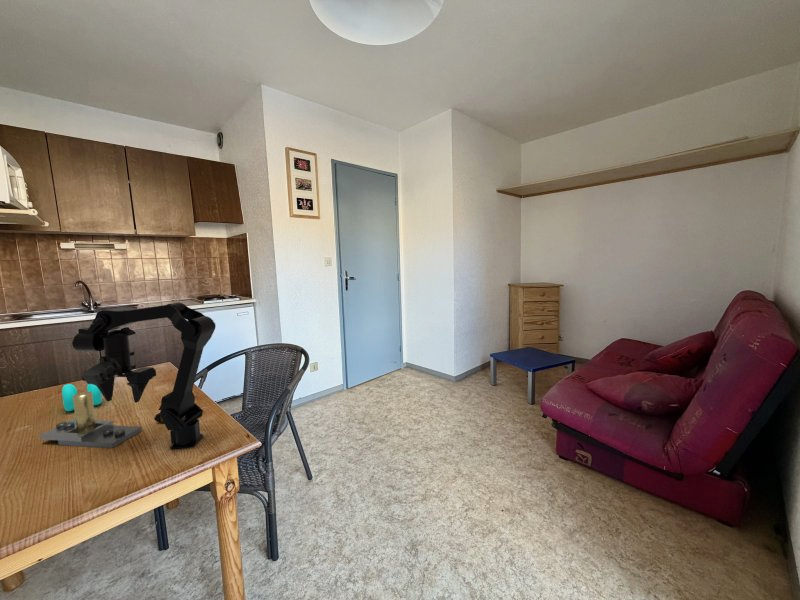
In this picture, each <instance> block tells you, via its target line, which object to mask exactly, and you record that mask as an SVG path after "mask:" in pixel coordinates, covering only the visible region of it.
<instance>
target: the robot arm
mask: <svg viewBox="0 0 800 600" xmlns="http://www.w3.org/2000/svg"><path fill="white" fill-rule="evenodd" d="M159 319H168V320H170V322H171V324H172V326H173V327H174V328H175V329H177V331H179V332H180V340H181V342H182V345H183V350H182V353H181V357H180V361H179V366H178V369H177V372H176V377H175V381H174V385H173V389H172V391H171V392H169V393H168V394H165V395H163V396H162V397H161V401H160V406H159V408H158V411H159V413H160V417H162V419H163V421H164V422H163V423H164V425H165V428H166V430H167V431H170V432H169V434H170V443H171V446H170V450H177V449H186V448H193V447H196V445H197V444H198V443H199V442H200V441H201V439H202V437H203V436H204V434H203V433H201V426H200V418H202V417H203V414H204V410H203V409H202V408H201V407H200V406H199V405H197V403H195V400H196V397H195V395H194V392H193V389H194V384H195V382H196V377H197V374H198V370H199V367H200V363H201V358H202V354H203V351H204V348H205V347H206V344H207V343H209V341H210V340H211V338H212V336H213V334H214V332H215V330H216V322H215V321H214V319H212V318H211V317H210V316H206V315H205V314H203V313H202V312H200V311H198V310H195V309H193V308H190V307H189V306H187V305H186V304H184V303H182V302H172V303H167V304H162V305H157V306H147V307H141V308H140V307H139V308H134V307H125V306H123V307H122V306H121V307H114V308H107V309H102V310H99V311H97V312H96V314H95V318H94V319H93V321H92V322H91V324H90V325H89V327H82V328H78V329H77V331H78V333H77V334H75V336H74V337H73V339H72V342H71V343H72V347H73V349H74V350H76V351H78V352H103V353H104V354H103V355H102V356H99V357H100V358H99V363H98V364H95V365H93V366H92V367H90V368H89V369H87V370H84V372H83V373H82V374H81V378H82V382H83V381H84V382H86V384H87V385H88V384H93V385H96V386H97V387H98V389H99V390H100V391H101V396H103V398H104V399H105V401H106V402H110V401H112V400H113V395H114V388H115V387H114V385H115V380H116V379H115V378H125V379H126V380H127V381H128V382H127V383H126V385H127V386H129V387H130V388H131V392H132V397H133V398H132V399H133V401H134V403H138V402H140V400H141V398H142V396H143V393H144V392H145V389H146V387H147V386H148V384H149V382H150V381H151V380H152V379H154V378H155V377H157V369H156V368H155V367H152V366H151V367H150V366H142V367H139V368H136V367H137V366H136V364H132V356H135V351H131V347H130V339H129V336H134V335H136V331H134V330H132V329H131V328H130V327H128V326H130V325H133V324H135V323H137V322H144V321H151V320H152V321H153V320H159ZM121 327H122V328H121Z"/></svg>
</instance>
